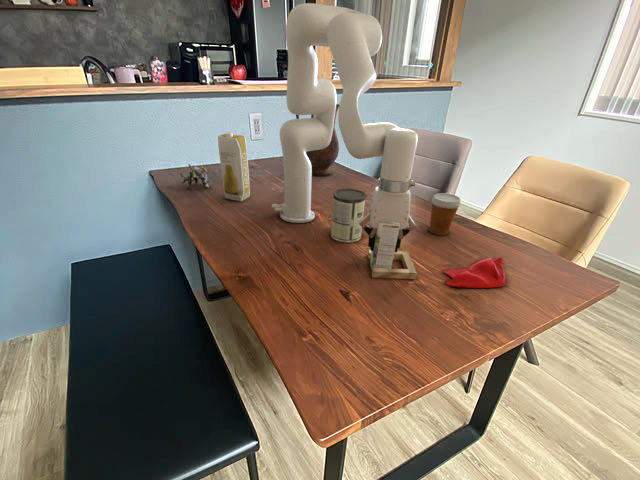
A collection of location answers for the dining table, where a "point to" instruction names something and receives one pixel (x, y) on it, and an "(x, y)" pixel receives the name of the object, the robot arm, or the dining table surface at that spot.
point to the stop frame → (404, 273)
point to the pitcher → (324, 154)
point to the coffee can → (347, 214)
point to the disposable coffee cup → (443, 212)
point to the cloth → (479, 275)
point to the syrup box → (384, 245)
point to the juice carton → (234, 166)
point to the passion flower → (197, 176)
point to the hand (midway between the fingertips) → (383, 249)
